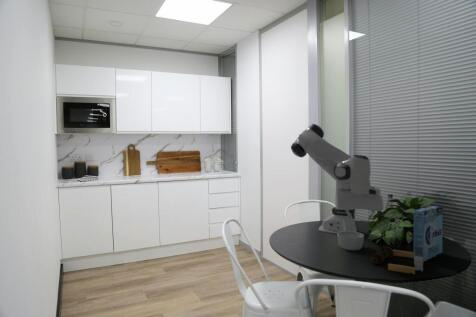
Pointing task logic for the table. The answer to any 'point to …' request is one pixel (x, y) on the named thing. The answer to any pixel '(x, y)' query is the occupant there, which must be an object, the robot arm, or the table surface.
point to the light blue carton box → (428, 231)
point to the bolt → (382, 255)
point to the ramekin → (350, 240)
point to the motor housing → (417, 257)
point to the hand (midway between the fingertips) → (359, 218)
